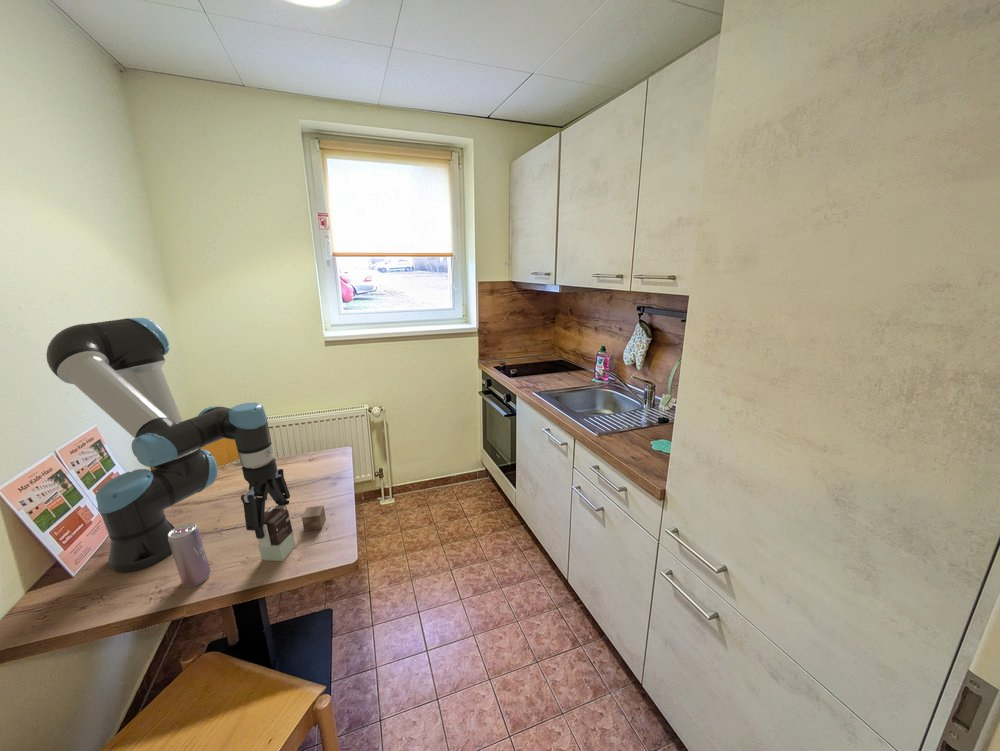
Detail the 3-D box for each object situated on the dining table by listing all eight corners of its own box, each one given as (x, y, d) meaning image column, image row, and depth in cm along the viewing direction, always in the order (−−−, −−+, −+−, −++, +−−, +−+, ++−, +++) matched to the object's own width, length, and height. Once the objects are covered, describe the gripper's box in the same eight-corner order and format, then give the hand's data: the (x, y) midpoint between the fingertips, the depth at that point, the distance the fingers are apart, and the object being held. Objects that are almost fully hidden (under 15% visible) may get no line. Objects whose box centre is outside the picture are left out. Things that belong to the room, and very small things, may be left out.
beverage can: (193, 570, 103) (178, 523, 99) (216, 569, 104) (202, 521, 99) (176, 588, 98) (160, 539, 93) (201, 587, 98) (186, 537, 94)
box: (277, 546, 104) (272, 523, 102) (258, 544, 105) (252, 521, 103) (293, 531, 110) (288, 509, 108) (274, 529, 111) (269, 507, 109)
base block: (261, 560, 106) (258, 545, 105) (275, 544, 112) (272, 530, 111) (282, 561, 106) (279, 545, 104) (295, 545, 112) (292, 530, 110)
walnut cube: (304, 531, 117) (301, 517, 116) (309, 521, 122) (306, 507, 121) (322, 529, 118) (319, 515, 117) (326, 519, 123) (323, 505, 122)
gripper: (244, 484, 91) (263, 563, 97) (295, 443, 110) (308, 512, 117) (214, 483, 91) (235, 562, 98) (269, 443, 111) (284, 511, 117)
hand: (275, 535), depth 107 cm, fingers open, 7 cm apart
